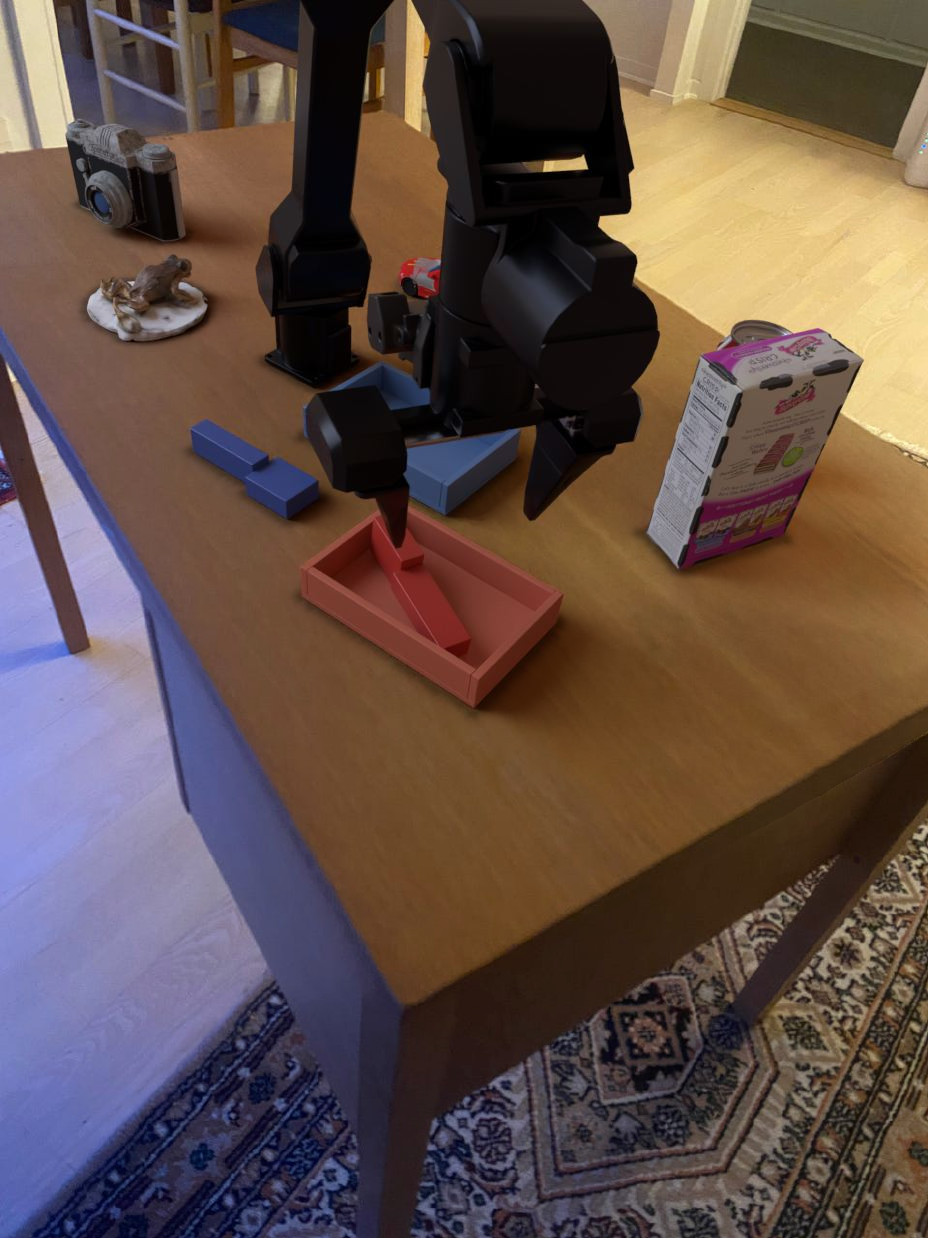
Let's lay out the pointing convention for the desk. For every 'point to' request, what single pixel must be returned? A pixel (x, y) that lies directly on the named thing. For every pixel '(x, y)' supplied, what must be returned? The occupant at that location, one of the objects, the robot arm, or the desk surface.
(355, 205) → the desk surface
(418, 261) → the race car
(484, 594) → the terracotta bin
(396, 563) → the stepped red stick
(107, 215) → the camera
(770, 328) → the soda can
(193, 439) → the blue stepped bar
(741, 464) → the candy bar box
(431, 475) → the blue bin
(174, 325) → the frog figurine
